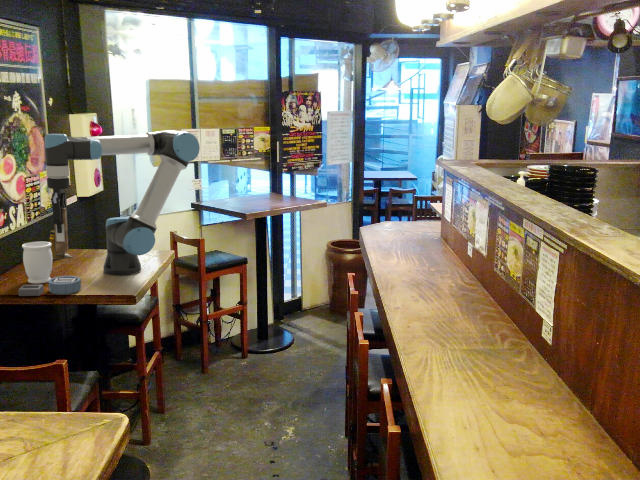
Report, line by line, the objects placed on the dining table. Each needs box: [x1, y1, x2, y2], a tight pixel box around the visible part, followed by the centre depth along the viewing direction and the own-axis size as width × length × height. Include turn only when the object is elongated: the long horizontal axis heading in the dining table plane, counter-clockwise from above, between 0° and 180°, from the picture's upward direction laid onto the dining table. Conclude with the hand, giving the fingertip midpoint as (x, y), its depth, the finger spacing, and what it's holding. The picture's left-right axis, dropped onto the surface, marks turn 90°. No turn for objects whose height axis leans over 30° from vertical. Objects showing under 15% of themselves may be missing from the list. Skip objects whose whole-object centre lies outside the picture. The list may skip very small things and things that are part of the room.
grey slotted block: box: [18, 284, 45, 297], centre depth 222 cm, size 7×6×2 cm
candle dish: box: [47, 275, 82, 296], centre depth 227 cm, size 11×11×4 cm
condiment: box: [49, 229, 73, 260], centre depth 273 cm, size 7×8×12 cm
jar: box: [21, 240, 54, 285], centre depth 236 cm, size 11×10×15 cm
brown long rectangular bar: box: [53, 208, 69, 252], centre depth 223 cm, size 4×2×16 cm, turn 99°
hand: (61, 240), depth 224 cm, fingers closed on brown long rectangular bar, 2 cm apart
